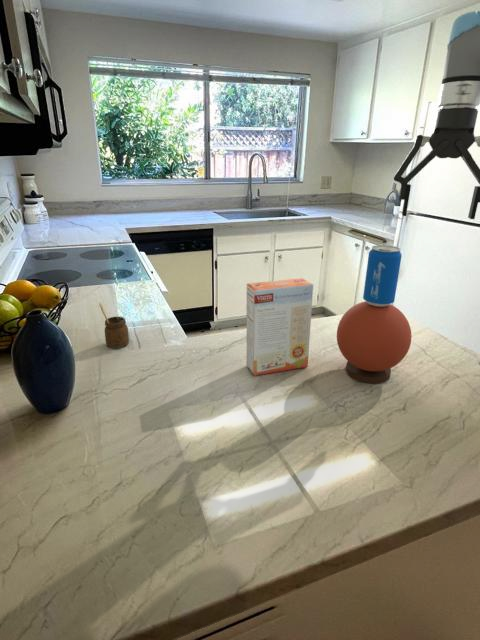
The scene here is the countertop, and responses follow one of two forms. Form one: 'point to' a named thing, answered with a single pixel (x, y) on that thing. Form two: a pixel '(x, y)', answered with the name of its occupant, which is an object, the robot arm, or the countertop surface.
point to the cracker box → (278, 325)
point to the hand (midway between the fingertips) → (436, 216)
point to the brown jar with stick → (116, 331)
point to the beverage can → (382, 275)
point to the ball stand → (373, 341)
